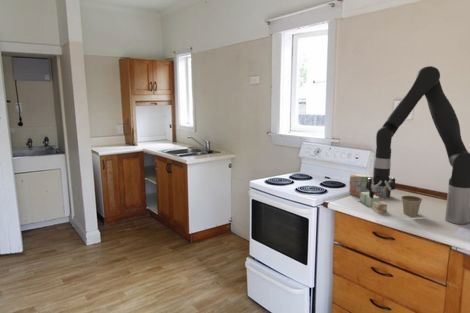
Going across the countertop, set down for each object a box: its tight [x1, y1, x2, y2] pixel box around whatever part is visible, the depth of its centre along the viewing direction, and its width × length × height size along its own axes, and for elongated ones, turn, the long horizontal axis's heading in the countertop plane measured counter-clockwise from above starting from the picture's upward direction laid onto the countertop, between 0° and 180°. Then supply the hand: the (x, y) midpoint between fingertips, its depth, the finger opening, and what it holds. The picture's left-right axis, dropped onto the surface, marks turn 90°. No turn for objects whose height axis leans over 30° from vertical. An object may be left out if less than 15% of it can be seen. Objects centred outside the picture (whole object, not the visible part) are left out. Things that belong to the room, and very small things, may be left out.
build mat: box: [357, 200, 372, 209], centre depth 184 cm, size 10×12×1 cm
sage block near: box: [366, 195, 381, 208], centre depth 181 cm, size 5×5×5 cm
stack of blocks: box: [348, 173, 390, 198], centre depth 201 cm, size 21×6×12 cm, turn 74°
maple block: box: [371, 200, 388, 214], centre depth 172 cm, size 5×5×5 cm
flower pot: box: [400, 195, 423, 217], centre depth 167 cm, size 9×9×9 cm
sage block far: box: [359, 192, 369, 203], centre depth 187 cm, size 5×5×5 cm
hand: (379, 197), depth 171 cm, fingers open, 8 cm apart
